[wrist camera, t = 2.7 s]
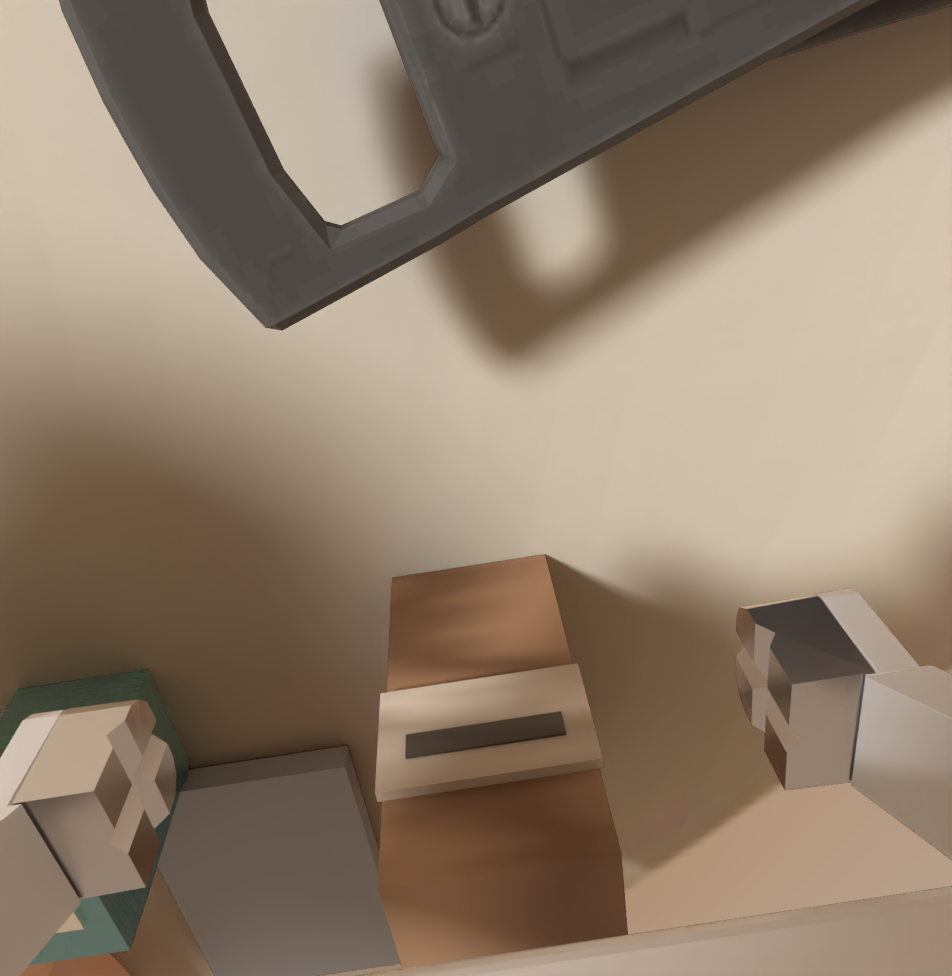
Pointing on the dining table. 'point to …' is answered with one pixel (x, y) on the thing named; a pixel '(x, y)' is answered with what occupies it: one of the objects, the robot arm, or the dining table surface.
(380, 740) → the block
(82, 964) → the block
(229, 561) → the dining table surface
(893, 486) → the dining table surface
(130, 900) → the block
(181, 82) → the zipper pull
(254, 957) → the felt pad
